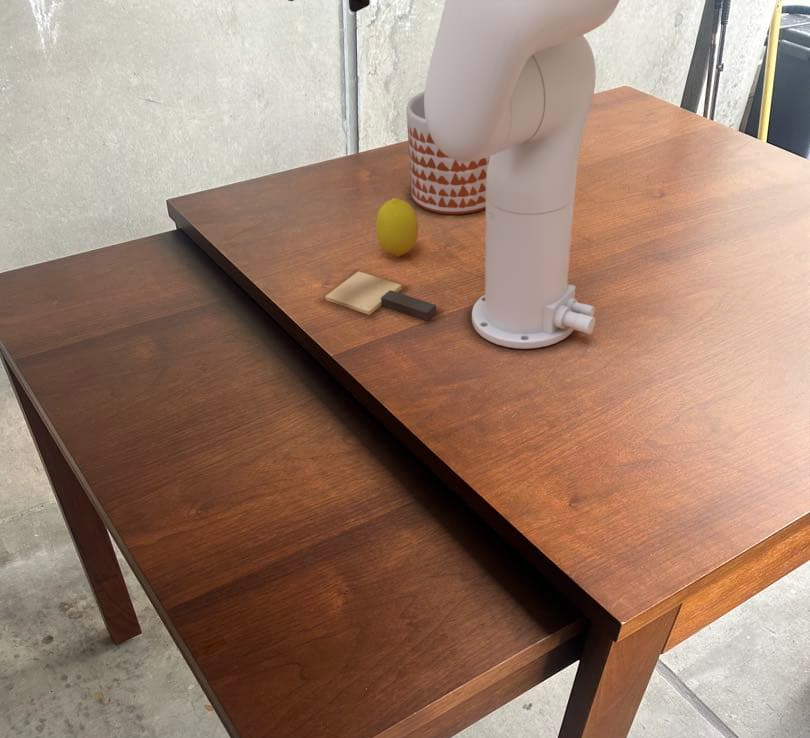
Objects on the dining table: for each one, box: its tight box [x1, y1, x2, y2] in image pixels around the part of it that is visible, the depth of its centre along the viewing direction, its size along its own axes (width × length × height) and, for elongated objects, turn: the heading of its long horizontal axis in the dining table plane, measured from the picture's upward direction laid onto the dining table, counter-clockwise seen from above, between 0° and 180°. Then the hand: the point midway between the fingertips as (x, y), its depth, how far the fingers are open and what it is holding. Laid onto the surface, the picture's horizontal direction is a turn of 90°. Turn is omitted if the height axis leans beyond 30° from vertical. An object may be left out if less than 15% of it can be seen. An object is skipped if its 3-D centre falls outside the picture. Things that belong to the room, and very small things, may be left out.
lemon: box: [375, 197, 419, 258], centre depth 113 cm, size 6×6×8 cm
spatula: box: [324, 270, 437, 322], centre depth 108 cm, size 14×7×1 cm, turn 55°
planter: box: [406, 91, 490, 215], centre depth 123 cm, size 14×14×13 cm
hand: (328, 3), depth 104 cm, fingers open, 9 cm apart
